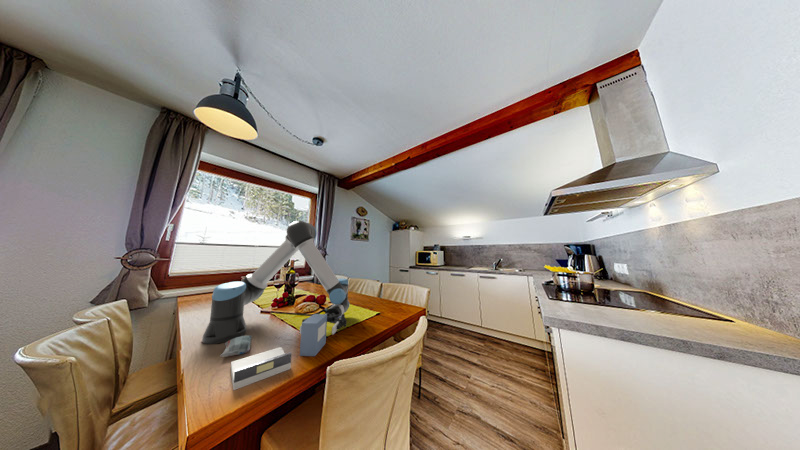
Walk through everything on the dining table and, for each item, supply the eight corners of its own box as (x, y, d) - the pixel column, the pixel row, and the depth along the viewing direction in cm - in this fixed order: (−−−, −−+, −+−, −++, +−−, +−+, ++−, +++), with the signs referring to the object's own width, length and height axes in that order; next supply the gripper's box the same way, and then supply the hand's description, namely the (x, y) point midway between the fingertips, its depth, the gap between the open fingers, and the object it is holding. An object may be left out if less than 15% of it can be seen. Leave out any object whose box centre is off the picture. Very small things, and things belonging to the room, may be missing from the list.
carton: (299, 355, 75) (301, 323, 77) (312, 342, 85) (313, 314, 86) (315, 356, 75) (317, 323, 76) (326, 343, 85) (327, 314, 86)
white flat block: (230, 368, 67) (232, 352, 68) (280, 352, 77) (281, 338, 78) (233, 391, 57) (235, 372, 57) (290, 369, 67) (291, 353, 67)
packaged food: (219, 362, 70) (221, 348, 71) (224, 348, 80) (226, 335, 81) (249, 355, 75) (251, 342, 76) (251, 343, 85) (252, 331, 85)
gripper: (358, 321, 102) (346, 340, 81) (310, 319, 103) (286, 339, 82) (358, 306, 103) (346, 321, 82) (311, 305, 103) (287, 320, 82)
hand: (316, 330), depth 82 cm, fingers open, 13 cm apart
